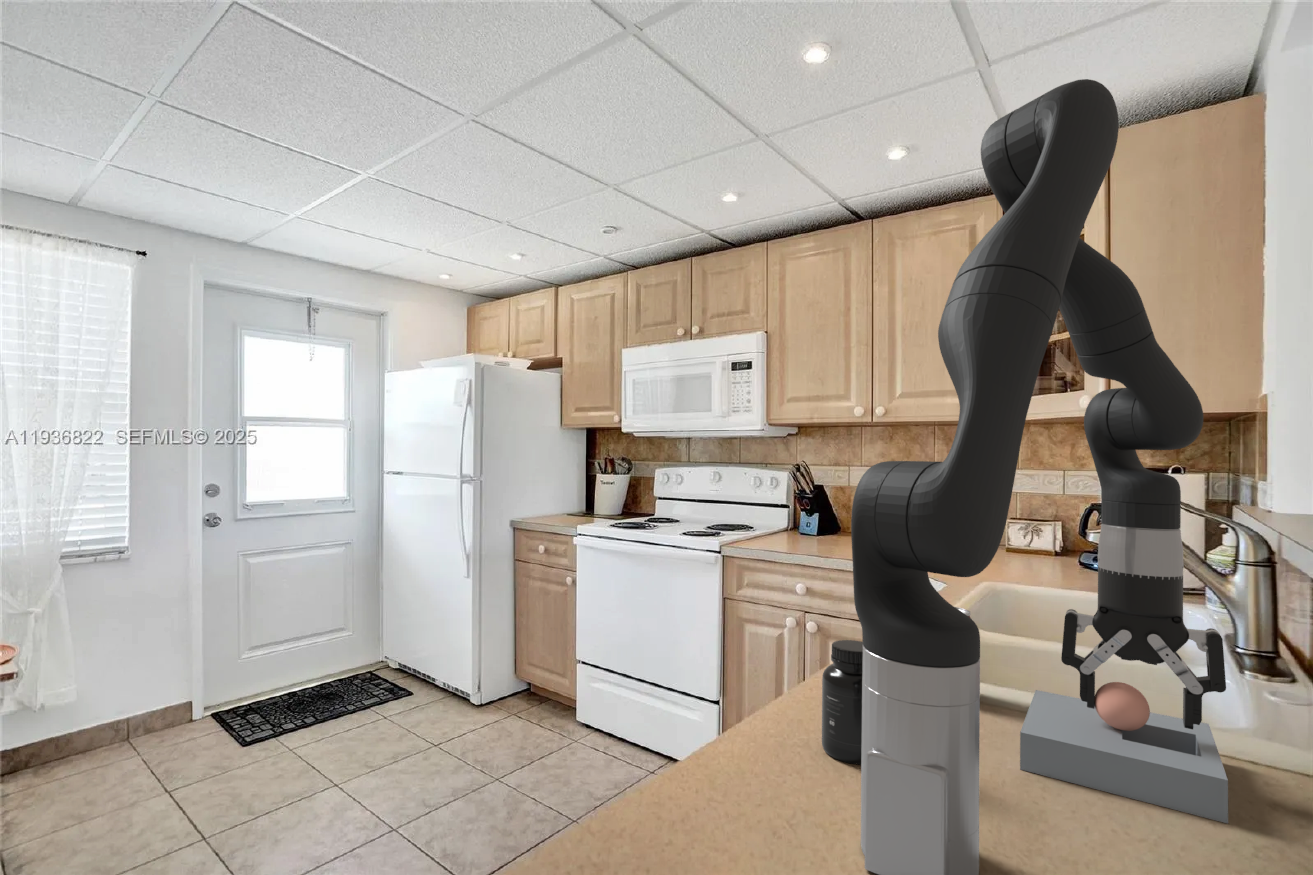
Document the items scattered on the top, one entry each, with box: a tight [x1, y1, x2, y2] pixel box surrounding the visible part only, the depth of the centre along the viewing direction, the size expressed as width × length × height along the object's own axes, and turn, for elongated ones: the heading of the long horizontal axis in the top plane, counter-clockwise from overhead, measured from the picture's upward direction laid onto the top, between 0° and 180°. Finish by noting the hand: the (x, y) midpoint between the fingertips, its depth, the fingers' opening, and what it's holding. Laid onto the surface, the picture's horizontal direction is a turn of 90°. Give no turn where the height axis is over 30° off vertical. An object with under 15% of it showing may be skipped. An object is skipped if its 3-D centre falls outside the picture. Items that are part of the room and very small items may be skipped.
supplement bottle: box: [821, 639, 863, 765], centre depth 74 cm, size 7×7×12 cm
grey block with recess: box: [1019, 689, 1229, 824], centre depth 72 cm, size 16×17×4 cm
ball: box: [1095, 681, 1151, 731], centre depth 72 cm, size 5×5×5 cm
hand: (1138, 716), depth 71 cm, fingers open, 8 cm apart
